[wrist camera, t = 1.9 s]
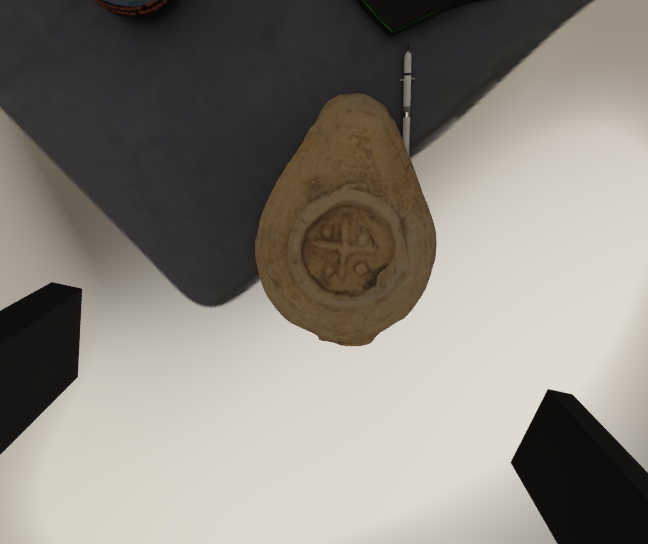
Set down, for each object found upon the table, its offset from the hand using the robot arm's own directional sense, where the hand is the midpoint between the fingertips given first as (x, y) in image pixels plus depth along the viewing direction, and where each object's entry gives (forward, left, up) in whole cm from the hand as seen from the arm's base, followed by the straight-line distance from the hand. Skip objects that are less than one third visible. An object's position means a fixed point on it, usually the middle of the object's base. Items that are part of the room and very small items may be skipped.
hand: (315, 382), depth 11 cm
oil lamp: (-2, -2, -11) cm, 11 cm away
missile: (-6, -6, -17) cm, 19 cm away
